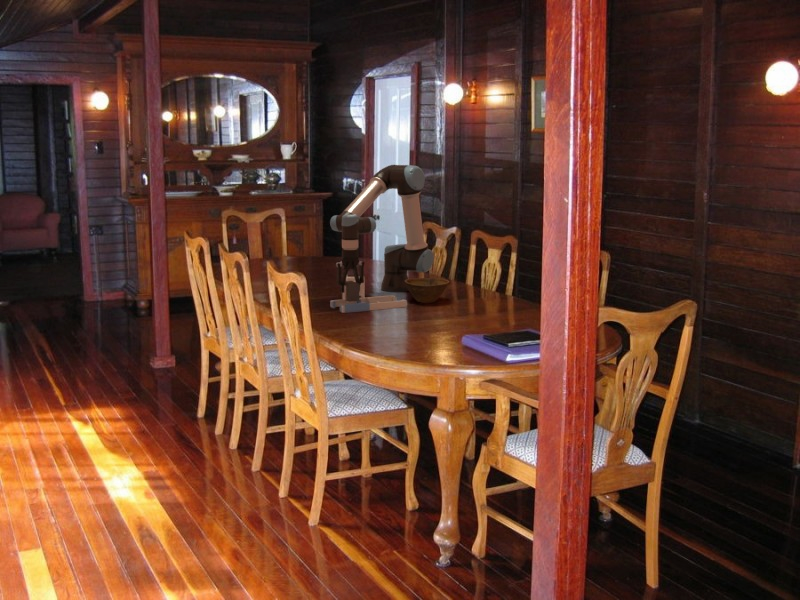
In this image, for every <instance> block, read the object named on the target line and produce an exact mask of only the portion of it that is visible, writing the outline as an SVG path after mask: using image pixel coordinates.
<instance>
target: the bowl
mask: <svg viewBox="0 0 800 600" xmlns="http://www.w3.org/2000/svg"><path fill="white" fill-rule="evenodd" d="M405 284H406V286H407V288H408V291H409V293H410V295H411V296H412V297H413V298H414V300H415V301H416V302H417V303H422V304H423V303H424V304H429V303H430V304H431V303H435V302H436V301H438V300H439V298H440V297H441V296H442V294H443V293H444V292H445V291H446V290H447V288H448V286H449V284H450V281H449V280H448V279H446V278H438V277H437V278H436V277H430V278H429V277H428V278H427V277H422V278H421V277H420V278H418V277H417V278H416V277H412V278H408V279H407V280H405Z"/></svg>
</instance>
